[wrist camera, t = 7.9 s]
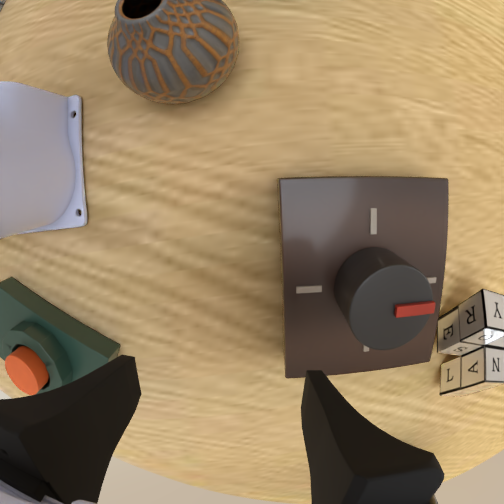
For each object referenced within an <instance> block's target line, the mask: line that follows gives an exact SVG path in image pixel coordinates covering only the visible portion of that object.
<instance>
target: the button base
mask: <svg viewBox="0 0 504 504" xmlns="http://www.w3.org/2000/svg"><path fill="white" fill-rule="evenodd" d="M20 346H27V347H29V348H30V349H32V350H33V351H34V352H36V354H37V355H38V356H39V358H40V359H41V360H42V361H43V363H44V364H45V366H46V369H47V371H48V373H49V380H48V382H47V383H46V384H45V385H44V386H43V387H42V388H41V389H40V390H39V391H38V393H36V394H39V393H43V392H47V391H50V390H53V389H56V388H59V387H61V386H64V385H66V384H68V383H71V382H73V381H75V380H77V379H79V378H81V377H83V376H85V375H87V374H89V373H90V372H92V371H94V370H96V369H97V368H99V367H101V366H103V365H104V364H106V363H108V362H110V361H111V360H113V359H115V358H117V355H118V351H119V347H120V344H118V343H116V342H114V341H112V340H110V339H108V338H107V337H105V336H103V335H101V334H99V333H98V332H96V331H94V330H92V329H91V328H89V327H87V326H86V325H84V324H82V323H81V322H79V321H77V320H76V319H74V318H72V317H71V316H69V315H67V314H66V313H64V312H63V311H61V310H59V309H58V308H56V307H55V306H53V305H52V304H50V303H48V302H47V301H45V300H44V299H42V298H41V297H39V296H38V295H36V294H35V293H34V292H32V291H31V290H29V289H28V288H26V287H25V286H23V285H22V284H21V283H19V282H18V281H16V280H15V279H14V278H12V277H10V278H8V279H6V280H4V281H2V282H0V357H1V358H2V359H3V360H6V357H7V356H9V355H10V354H11V353H12V352H14V351H15V350H16V349H17V348H19V347H20ZM36 394H35V395H36Z"/></svg>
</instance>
